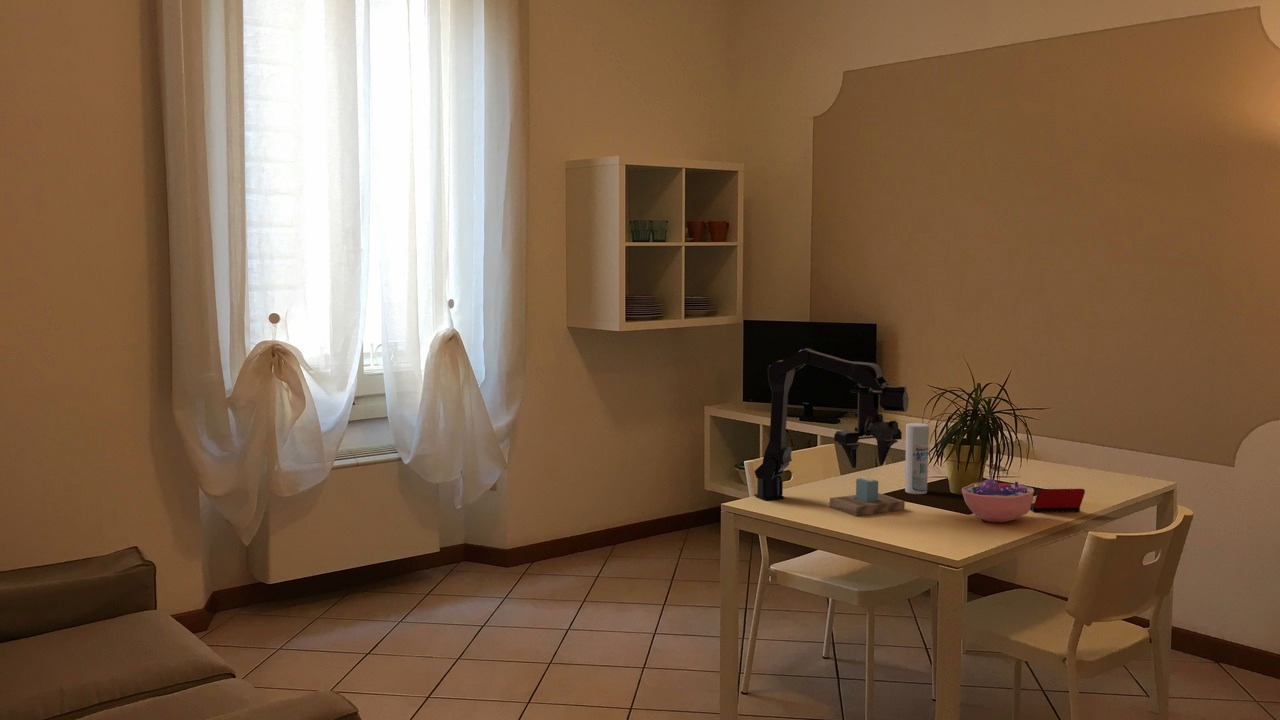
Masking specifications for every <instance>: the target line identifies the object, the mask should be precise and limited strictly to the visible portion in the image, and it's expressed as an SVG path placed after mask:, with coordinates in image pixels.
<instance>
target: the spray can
mask: <svg viewBox="0 0 1280 720" xmlns="http://www.w3.org/2000/svg"><path fill="white" fill-rule="evenodd" d="M929 430H930V426H929V424H927V423H923V422H922V423H920V422H910V423H909V422H908V423H906V424H905V466H904V467H905V469H904V471H905V472H904V473H905V477H904V479H905V481H904V482H905V483H904V487H905V488H904V491H905V492H906V493H907V494H912V495H924V494H927V493H928V475H929V474H928V472H929V471H928V469H929V468H928V467H929V464H928V463H929V442H930V441H929V439H930V438H929V436H930V435H929V434H930V431H929Z"/></svg>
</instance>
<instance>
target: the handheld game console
mask: <svg viewBox="0 0 1280 720" xmlns="http://www.w3.org/2000/svg"><path fill="white" fill-rule="evenodd" d="M1036 493H1037V494H1036V497H1035V501H1034V502H1032V504H1031V508H1030V510H1029V511H1031V512H1033V513H1037V514H1039V513H1041V514H1042V513H1047V514H1048V513H1049V514H1051V513H1075V514H1076V513H1080V512H1081V506H1082V505H1081V504H1082V502H1083V499H1084V497H1085V493H1086V490H1085V489H1084V488H1048V489H1047V488H1041V489H1039V490H1037V492H1036Z"/></svg>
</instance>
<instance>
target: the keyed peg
mask: <svg viewBox="0 0 1280 720" xmlns="http://www.w3.org/2000/svg"><path fill="white" fill-rule="evenodd" d="M860 477H861V476H860ZM855 480H856V481H855V482H856V483H855V486H856V487H855V495H856V500H859V501H862V502H865V503H871V502H878V493H879V481H878V480H875V479H872V478H869V477H865V476H862V477H861V478H856V479H855Z"/></svg>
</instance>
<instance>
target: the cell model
mask: <svg viewBox="0 0 1280 720" xmlns="http://www.w3.org/2000/svg"><path fill="white" fill-rule="evenodd" d="M1034 492H1035V490H1034V488H1033V487H1030V486H1026V485H1025V484H1022V483H1019V482H1018V481H1014V483H1006V482H1004V483H1003V482H998V481H997V480H995V479H994V478H987V479H985V480H983V481H982V482H973V483H971V484H969V485H967V486H964V487H962V488H961V493H962V496H963V499H964V502H965V504H966V505H967V507H968V508H969V510H970V511H971V512H972V513H973V514H974V515H975V516H976V517H978V518H980V519H981V520H983V521H985V522H991V523H1007V522H1010V521H1013V520H1017V519H1019V518H1020V517H1022V516H1025V515H1027V514H1028V513H1029V511H1031V510H1030V508H1031V504H1032V503H1033V499H1034Z"/></svg>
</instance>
